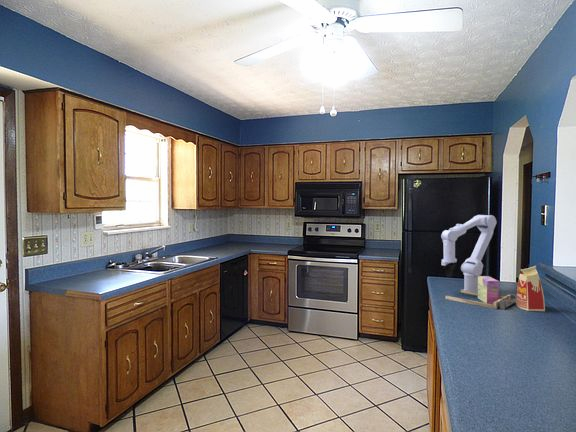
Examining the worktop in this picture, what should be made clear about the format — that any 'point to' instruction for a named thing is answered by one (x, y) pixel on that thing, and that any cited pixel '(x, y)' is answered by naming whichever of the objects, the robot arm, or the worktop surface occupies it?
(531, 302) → the milk carton
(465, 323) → the worktop surface
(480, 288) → the box
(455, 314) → the worktop surface
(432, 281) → the worktop surface
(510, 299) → the bay
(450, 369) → the worktop surface
